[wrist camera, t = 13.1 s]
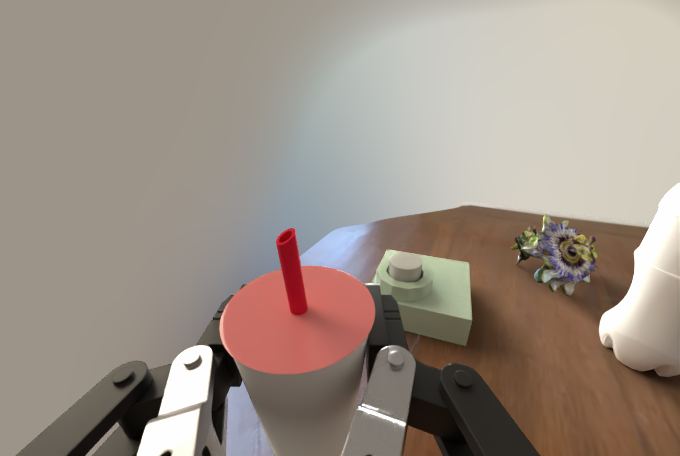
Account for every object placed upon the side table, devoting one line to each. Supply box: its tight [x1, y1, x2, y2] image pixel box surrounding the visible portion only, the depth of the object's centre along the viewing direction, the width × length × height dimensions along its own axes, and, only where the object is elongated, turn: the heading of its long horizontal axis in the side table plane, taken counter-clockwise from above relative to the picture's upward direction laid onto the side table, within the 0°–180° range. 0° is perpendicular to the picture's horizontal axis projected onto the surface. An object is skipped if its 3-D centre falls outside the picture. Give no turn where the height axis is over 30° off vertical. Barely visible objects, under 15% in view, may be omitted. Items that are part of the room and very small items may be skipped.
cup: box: [219, 228, 375, 456], centre depth 11 cm, size 5×5×12 cm
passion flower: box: [511, 215, 598, 296], centre depth 41 cm, size 11×11×12 cm
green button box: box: [371, 250, 472, 346], centre depth 37 cm, size 12×12×6 cm
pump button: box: [389, 252, 422, 283], centre depth 35 cm, size 4×4×2 cm
